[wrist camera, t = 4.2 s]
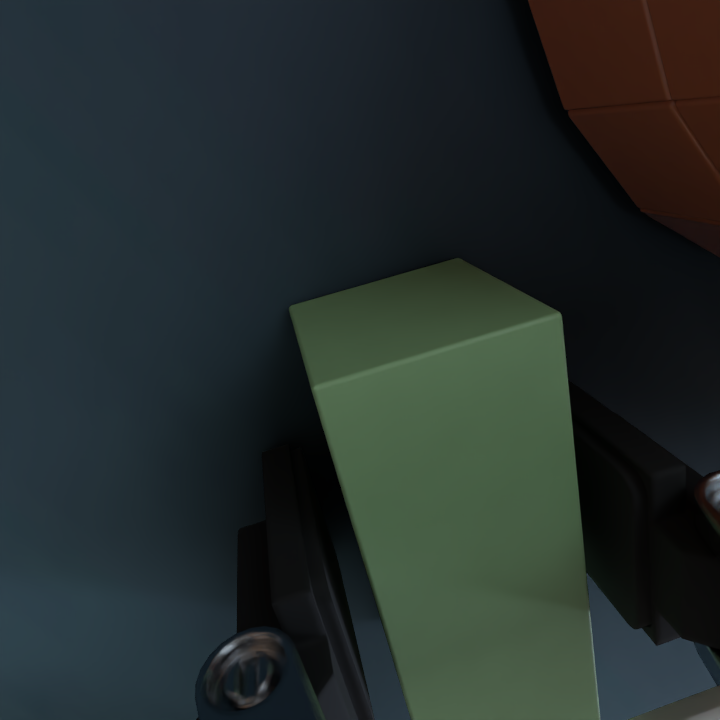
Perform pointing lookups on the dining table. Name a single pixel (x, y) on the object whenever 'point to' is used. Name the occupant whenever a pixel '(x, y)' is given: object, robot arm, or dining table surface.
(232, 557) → the dining table surface
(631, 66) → the bowl
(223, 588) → the dining table surface
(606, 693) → the dining table surface
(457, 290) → the bar
